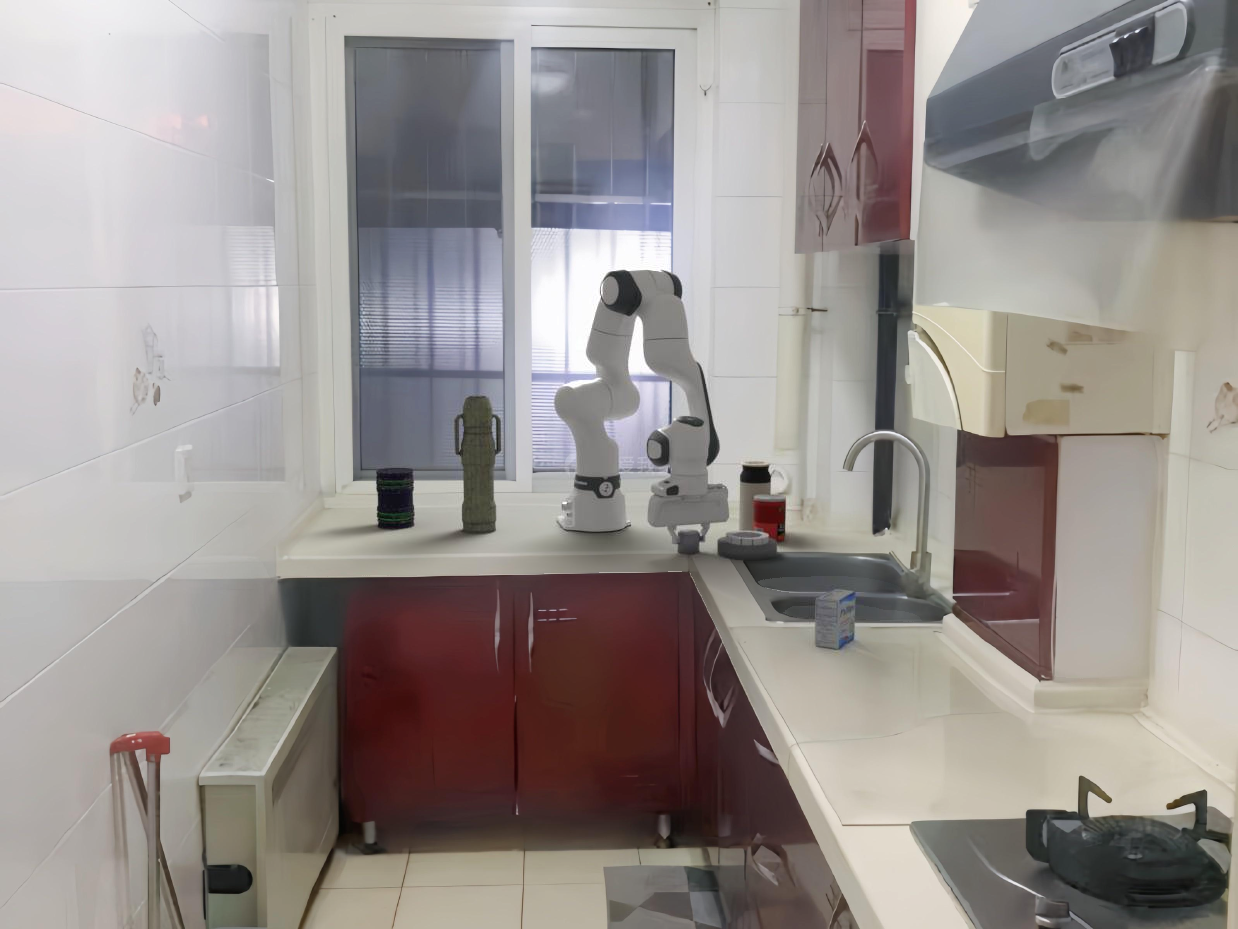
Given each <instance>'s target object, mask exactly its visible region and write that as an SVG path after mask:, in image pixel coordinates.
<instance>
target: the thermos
mask: <svg viewBox="0 0 1238 929" xmlns="http://www.w3.org/2000/svg"><path fill="white" fill-rule="evenodd" d="M493 418H494V419H495V434H496V435H495V436H496V438H495V437H494V436H493V435H494V434H493V433H494V432H493V428H492V427H493ZM461 419H462V427H463V432H462V435H463V436H462V440H461V443H460V420H461ZM501 424H502V421H501V418H500V417H499V416H498V414H496V413H495V414H494V413H493V406H492V402H491V399H490V397H488V396H487V395H468V397H465V398H464V403H463V406H462V413H460V414H457V416H456V417H455V419H454V451H455V455H456V456H459V457H460V459H461V460H460V461H461V462H460V463H461V465H462V469H463V470H462V475H463V476H462V478H463V502H462V504H461V522H462V532H464V533H466V534H467V533H468V534H490V533H494V532H496V530H497V528H496V522H497V505H496V502H495V501H496V500H495V489H494V488H495V485H494V484H495V483H494V482H495V481H494V480H495V476H494V473H495V472H494V468H495V464H496V456H497V455H499V454H500V453H501V451H502V425H501ZM494 438H495V439H494Z"/></svg>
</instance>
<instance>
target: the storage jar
mask: <svg viewBox="0 0 1238 929" xmlns="http://www.w3.org/2000/svg"><path fill="white" fill-rule="evenodd" d="M375 474H376V476H375V477H376V478H375V479H376V480H375V485H376V492H377V506H376V518H377V528H379V529H383V530H404V529H405V530H406V529H411V528H413V527H415V505H414V491H415V490H414V489H415V487H414V483H415V480H414V469H413V468H409V467H386V468H381V469H380V468H379V469H376V470H375Z"/></svg>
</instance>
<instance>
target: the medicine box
mask: <svg viewBox="0 0 1238 929" xmlns="http://www.w3.org/2000/svg"><path fill="white" fill-rule="evenodd" d="M814 607H815V609H814V610H815V611H814V612H815V614H814V618H815V621H814V645H815V646H816V647H819V648H820V647H821V648H826V649H833V650H837V651H838V650H839V651H840V649H842V648H843V647H844V646H845V645H847V644H848V643H850V642H851V641H852V640H854V639H855V632H856V631H855V629H856V628H855V627H856V625H855V624H856V623H855V622H856V619H855V617H856V591H854V590H848V589H847V590H846V589H839V588H833V589H830V590H828V591H827V592H825V593H823V594H821V595H820V596H818V597H816V598H815V606H814Z"/></svg>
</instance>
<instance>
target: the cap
mask: <svg viewBox="0 0 1238 929" xmlns="http://www.w3.org/2000/svg"><path fill="white" fill-rule="evenodd" d="M677 536H679V537H680V544H677V553H678V554H682V555H693V553H696V554H699V553H700V543H701V542H700V531H699V530H697V529H691V528H689V529H687V528H686V529H680V530H679V531H678V532H677Z"/></svg>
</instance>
